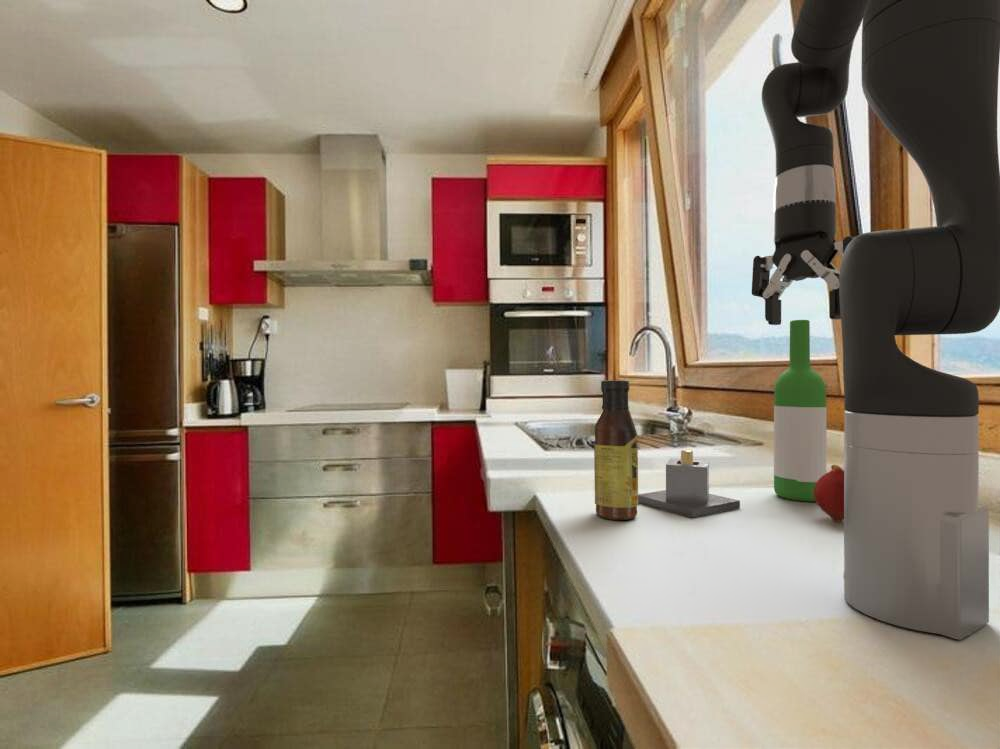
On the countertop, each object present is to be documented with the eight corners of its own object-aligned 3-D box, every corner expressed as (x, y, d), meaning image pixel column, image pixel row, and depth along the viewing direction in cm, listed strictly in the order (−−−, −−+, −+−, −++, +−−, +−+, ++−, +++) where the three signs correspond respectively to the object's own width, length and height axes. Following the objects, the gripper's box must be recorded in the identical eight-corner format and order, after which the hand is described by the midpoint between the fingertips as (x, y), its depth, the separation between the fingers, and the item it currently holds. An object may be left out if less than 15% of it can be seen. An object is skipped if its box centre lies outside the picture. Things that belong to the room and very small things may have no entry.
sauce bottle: (643, 522, 73) (643, 380, 73) (598, 521, 73) (598, 380, 73) (632, 510, 80) (632, 380, 80) (591, 509, 80) (591, 379, 80)
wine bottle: (784, 490, 94) (785, 323, 94) (833, 498, 88) (833, 320, 88) (765, 496, 89) (765, 320, 89) (815, 505, 83) (816, 316, 83)
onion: (848, 516, 76) (848, 461, 76) (872, 527, 71) (872, 468, 71) (806, 515, 77) (806, 461, 77) (826, 526, 71) (826, 467, 71)
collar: (708, 495, 84) (708, 461, 84) (707, 503, 79) (707, 467, 79) (670, 492, 87) (670, 459, 87) (665, 499, 81) (665, 464, 81)
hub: (739, 508, 81) (739, 452, 81) (692, 518, 75) (692, 458, 75) (682, 494, 90) (682, 444, 90) (636, 502, 85) (636, 449, 85)
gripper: (874, 196, 69) (874, 319, 69) (771, 223, 81) (770, 327, 81) (844, 185, 65) (844, 315, 65) (741, 215, 77) (740, 325, 77)
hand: (803, 322), depth 73 cm, fingers open, 8 cm apart
